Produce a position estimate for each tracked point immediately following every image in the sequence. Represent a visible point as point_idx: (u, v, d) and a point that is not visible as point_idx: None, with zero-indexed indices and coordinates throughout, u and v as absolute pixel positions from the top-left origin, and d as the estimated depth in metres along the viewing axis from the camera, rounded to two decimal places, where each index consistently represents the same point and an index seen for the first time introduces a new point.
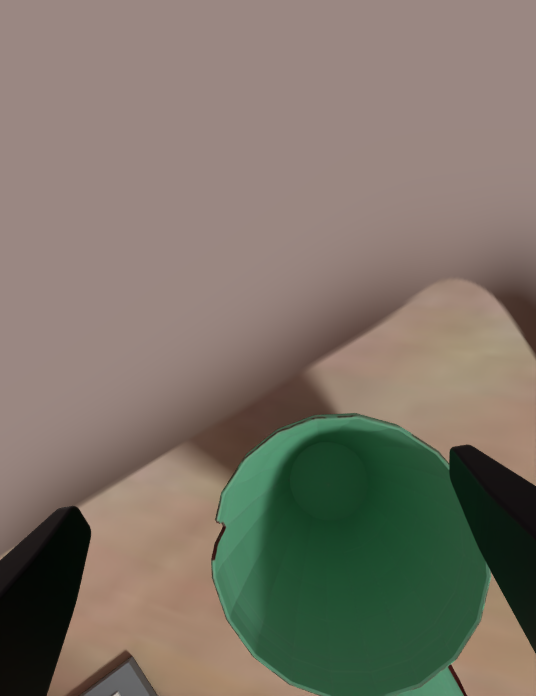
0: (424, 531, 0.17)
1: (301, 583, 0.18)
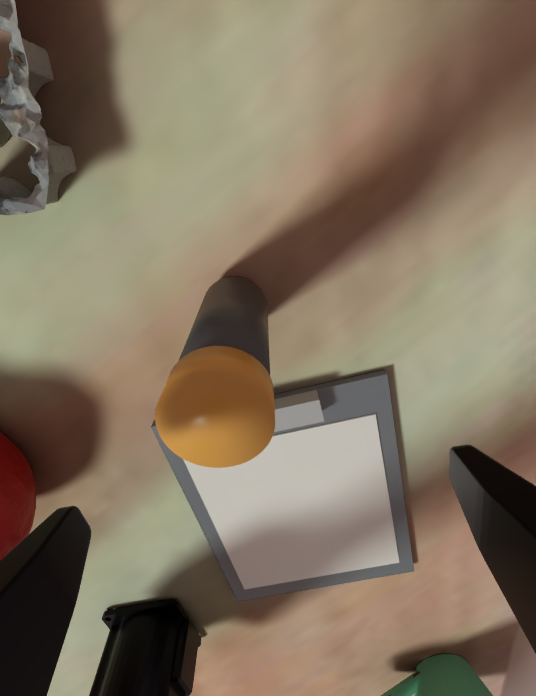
0: None
1: None
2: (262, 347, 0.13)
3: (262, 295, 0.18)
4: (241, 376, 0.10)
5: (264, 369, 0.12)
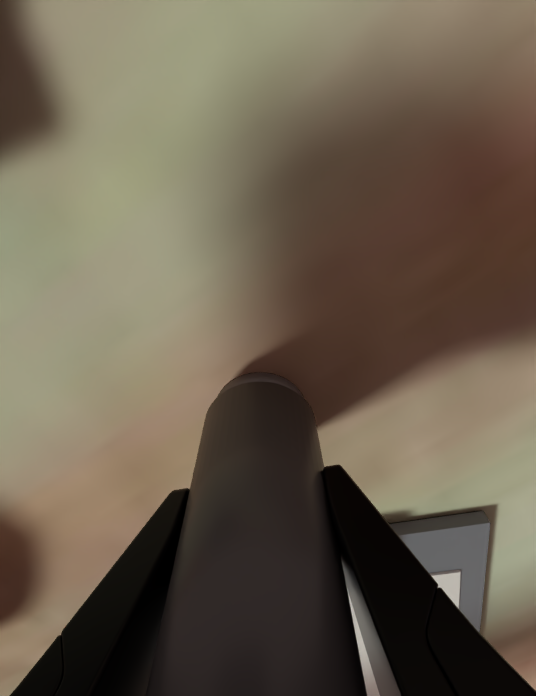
0: None
1: None
2: (357, 673, 0.05)
3: (312, 418, 0.10)
4: None
5: None
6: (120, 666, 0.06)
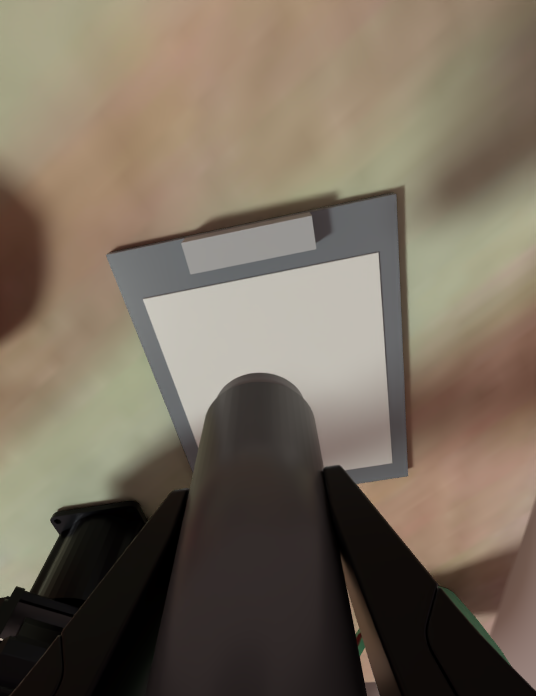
0: None
1: None
2: (357, 675, 0.05)
3: (311, 418, 0.10)
4: None
5: None
6: (120, 666, 0.06)
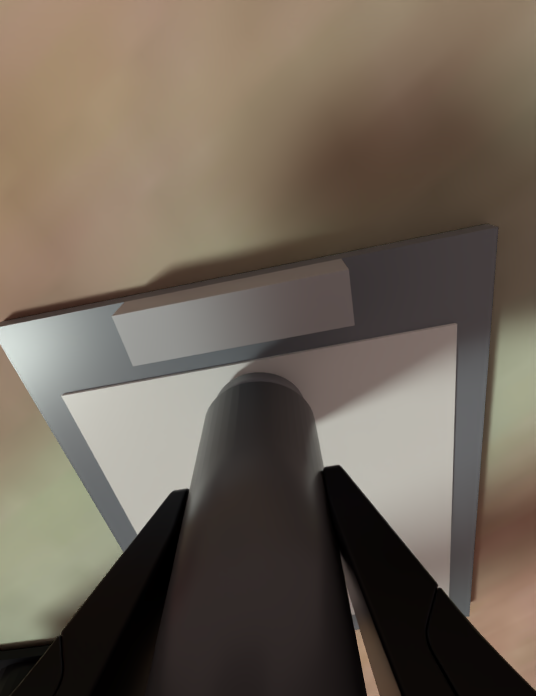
0: None
1: None
2: (356, 674, 0.05)
3: (311, 418, 0.10)
4: None
5: None
6: (120, 666, 0.06)
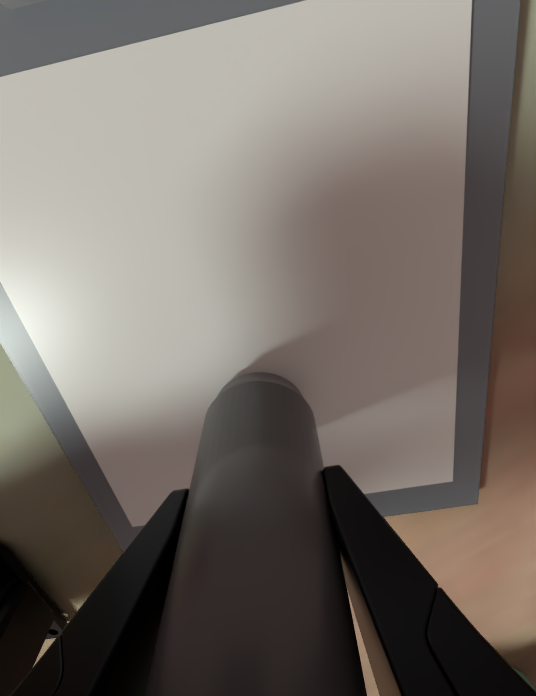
0: None
1: None
2: (357, 674, 0.05)
3: (311, 418, 0.10)
4: None
5: None
6: (120, 666, 0.06)
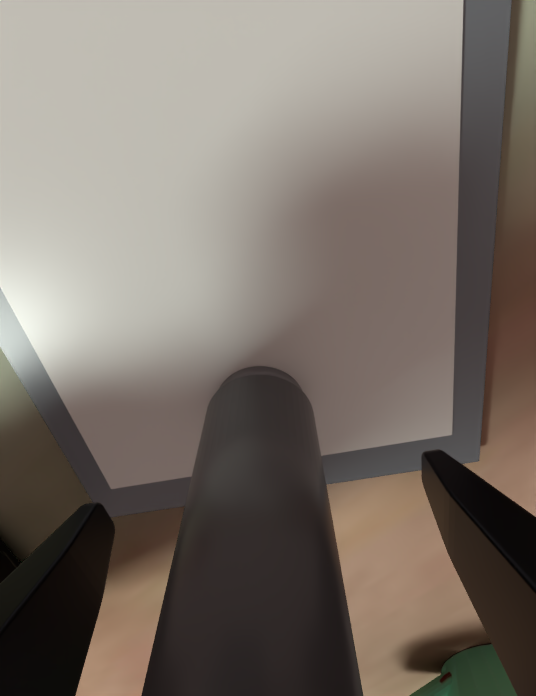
0: None
1: None
2: (348, 645, 0.06)
3: (310, 410, 0.11)
4: None
5: None
6: None
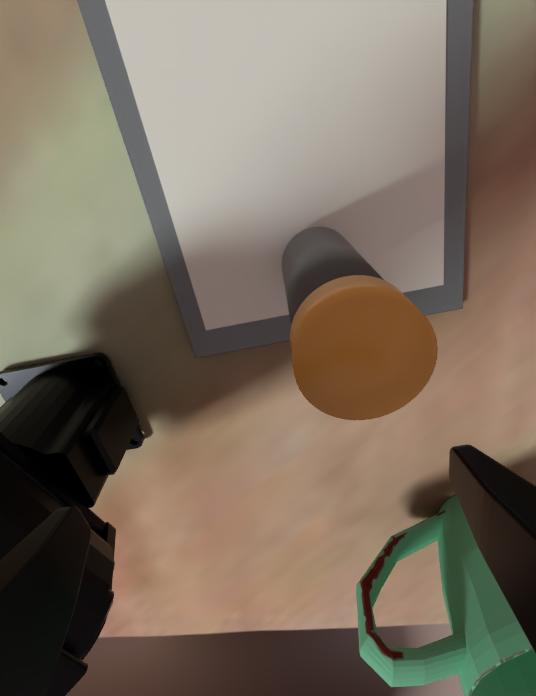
0: None
1: None
2: None
3: None
4: (411, 304, 0.08)
5: None
6: None
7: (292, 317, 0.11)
